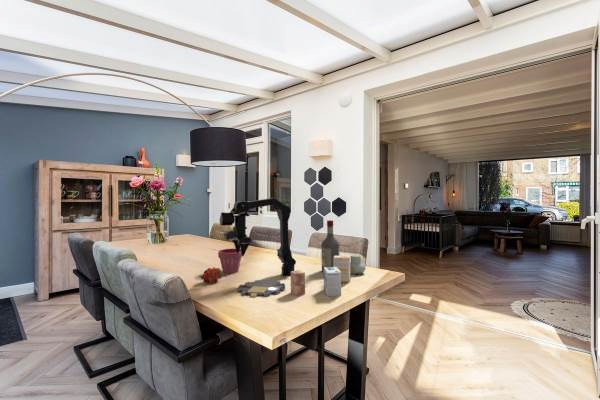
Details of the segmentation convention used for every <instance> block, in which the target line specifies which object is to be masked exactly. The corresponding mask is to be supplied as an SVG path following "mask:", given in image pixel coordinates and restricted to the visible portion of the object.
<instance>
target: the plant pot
mask: <svg viewBox="0 0 600 400" xmlns="http://www.w3.org/2000/svg"><path fill="white" fill-rule="evenodd" d="M217 256H218V258H219V262H220V265H221V269H222V270H221V271H222V274H226V275H227V274H228V275H231V274H236V273H238V272H239V270H240V266H241V259H242V258H243V256H242V255H241V249H240V250H239V253H236V249H235V248H224V249H219V250H218V254H217Z"/></svg>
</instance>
